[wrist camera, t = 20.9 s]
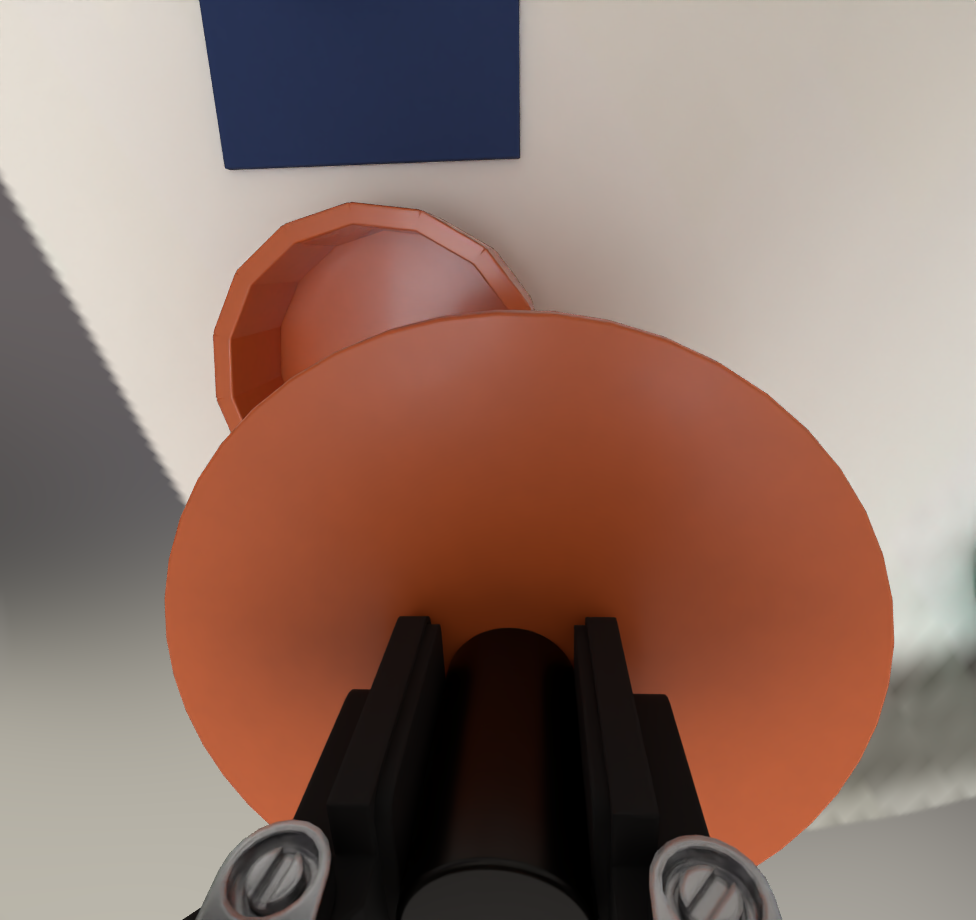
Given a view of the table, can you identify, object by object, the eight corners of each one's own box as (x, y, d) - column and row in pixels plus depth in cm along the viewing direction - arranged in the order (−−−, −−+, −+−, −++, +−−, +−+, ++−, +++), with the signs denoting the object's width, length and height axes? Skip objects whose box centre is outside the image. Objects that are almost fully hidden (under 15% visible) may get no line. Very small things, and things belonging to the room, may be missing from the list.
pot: (335, 156, 24) (286, 131, 19) (597, 309, 25) (611, 320, 20) (232, 414, 28) (171, 445, 23) (462, 535, 29) (448, 588, 24)
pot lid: (339, 153, 9) (85, 17, 4) (1025, 531, 10) (1520, 806, 5) (123, 728, 14) (-133, 1020, 8) (623, 951, 15) (670, 1328, 9)
